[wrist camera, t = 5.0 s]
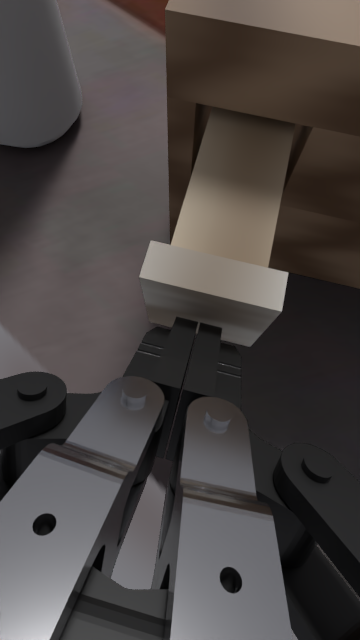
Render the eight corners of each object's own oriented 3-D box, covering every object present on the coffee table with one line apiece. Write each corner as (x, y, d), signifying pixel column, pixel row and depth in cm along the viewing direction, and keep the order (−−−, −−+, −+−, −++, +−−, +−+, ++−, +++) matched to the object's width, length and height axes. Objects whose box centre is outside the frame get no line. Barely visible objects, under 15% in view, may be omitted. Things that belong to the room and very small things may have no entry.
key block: (170, 244, 20) (165, 9, 9) (196, 155, 23) (220, -124, 11) (437, 307, 19) (810, 131, 8) (439, 208, 22) (734, -41, 10)
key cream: (149, 321, 13) (139, 276, 9) (202, 143, 16) (211, 52, 12) (249, 346, 13) (281, 311, 9) (286, 161, 16) (321, 74, 12)
